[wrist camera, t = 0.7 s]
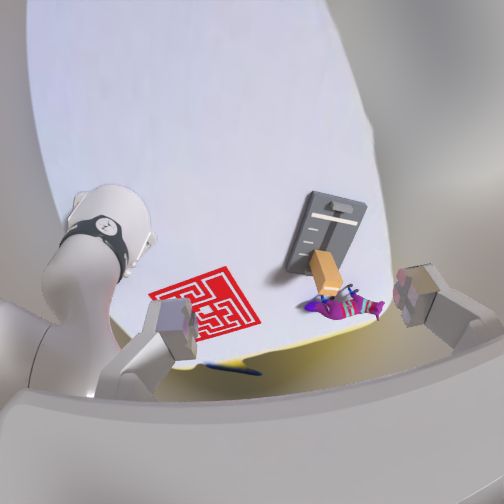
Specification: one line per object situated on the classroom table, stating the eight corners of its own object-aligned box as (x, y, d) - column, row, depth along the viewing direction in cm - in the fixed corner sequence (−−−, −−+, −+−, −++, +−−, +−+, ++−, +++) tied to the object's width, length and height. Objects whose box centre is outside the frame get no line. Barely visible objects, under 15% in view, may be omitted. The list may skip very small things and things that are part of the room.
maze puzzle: (148, 292, 66) (148, 294, 65) (226, 264, 62) (225, 266, 61) (192, 341, 77) (192, 342, 76) (261, 321, 73) (261, 323, 73)
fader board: (332, 273, 64) (336, 282, 62) (285, 267, 62) (288, 276, 60) (364, 203, 54) (370, 210, 52) (313, 190, 52) (317, 198, 50)
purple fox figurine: (374, 286, 68) (389, 317, 59) (304, 307, 70) (312, 341, 62) (373, 275, 66) (389, 307, 57) (301, 297, 68) (309, 331, 60)
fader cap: (324, 265, 60) (336, 296, 53) (309, 263, 60) (319, 295, 52) (330, 252, 58) (343, 282, 51) (314, 249, 58) (326, 280, 50)
